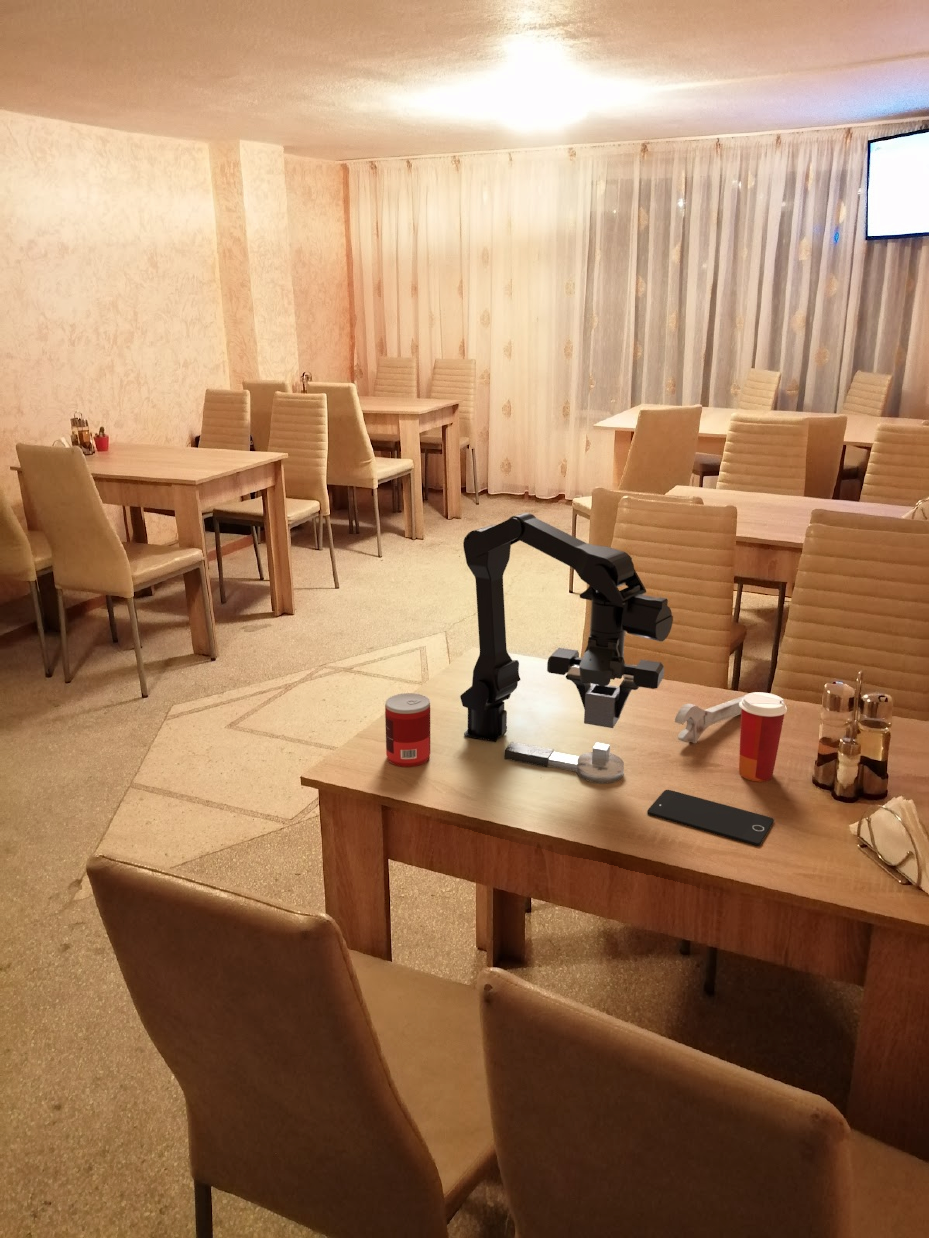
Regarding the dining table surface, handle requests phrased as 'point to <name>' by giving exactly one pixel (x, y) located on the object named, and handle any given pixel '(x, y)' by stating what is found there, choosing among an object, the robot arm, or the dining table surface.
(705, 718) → the wrench
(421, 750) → the canned food
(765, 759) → the paper cup
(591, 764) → the ratchet
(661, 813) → the cell phone
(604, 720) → the socket
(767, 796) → the dining table surface
